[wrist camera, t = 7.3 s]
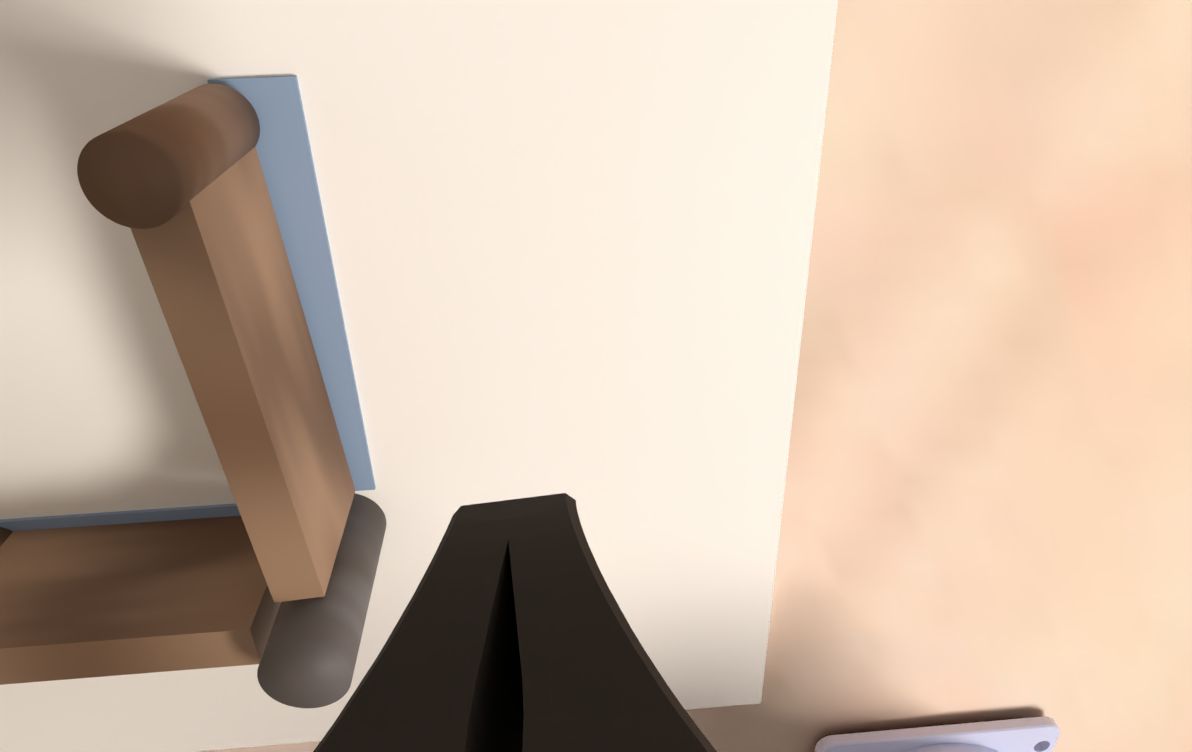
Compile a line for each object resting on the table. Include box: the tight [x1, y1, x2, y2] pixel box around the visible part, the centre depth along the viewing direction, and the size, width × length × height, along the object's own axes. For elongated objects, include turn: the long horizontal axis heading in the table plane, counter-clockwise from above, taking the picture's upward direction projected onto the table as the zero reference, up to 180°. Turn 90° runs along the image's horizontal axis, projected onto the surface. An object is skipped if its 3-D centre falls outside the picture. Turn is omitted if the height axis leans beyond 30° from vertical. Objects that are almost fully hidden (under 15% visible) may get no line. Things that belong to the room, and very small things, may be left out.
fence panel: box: [77, 83, 355, 603], centre depth 15 cm, size 9×1×4 cm, turn 5°
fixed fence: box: [0, 494, 386, 708], centre depth 18 cm, size 10×2×5 cm, turn 92°
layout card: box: [0, 0, 838, 752], centre depth 19 cm, size 20×22×1 cm
